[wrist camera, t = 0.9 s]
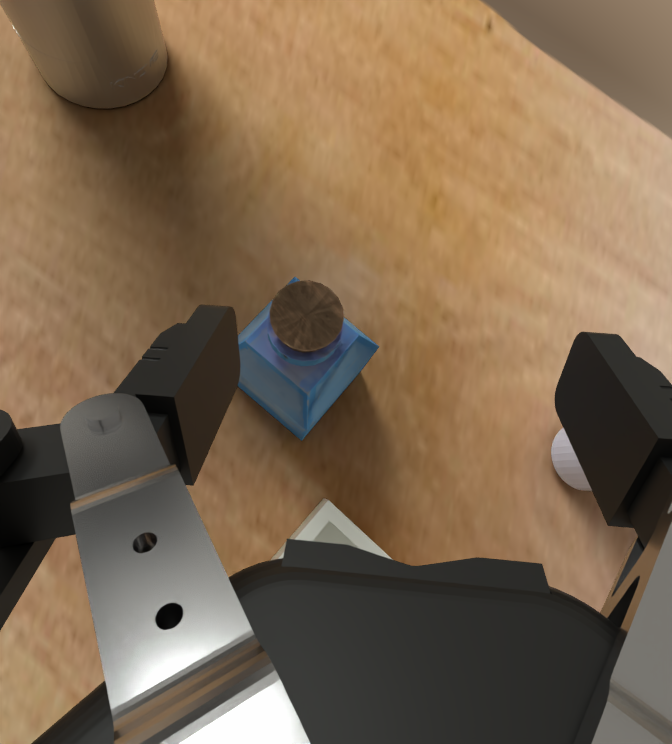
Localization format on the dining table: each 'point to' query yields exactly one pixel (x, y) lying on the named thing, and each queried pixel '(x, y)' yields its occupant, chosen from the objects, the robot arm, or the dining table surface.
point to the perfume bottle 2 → (568, 462)
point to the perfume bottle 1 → (301, 355)
